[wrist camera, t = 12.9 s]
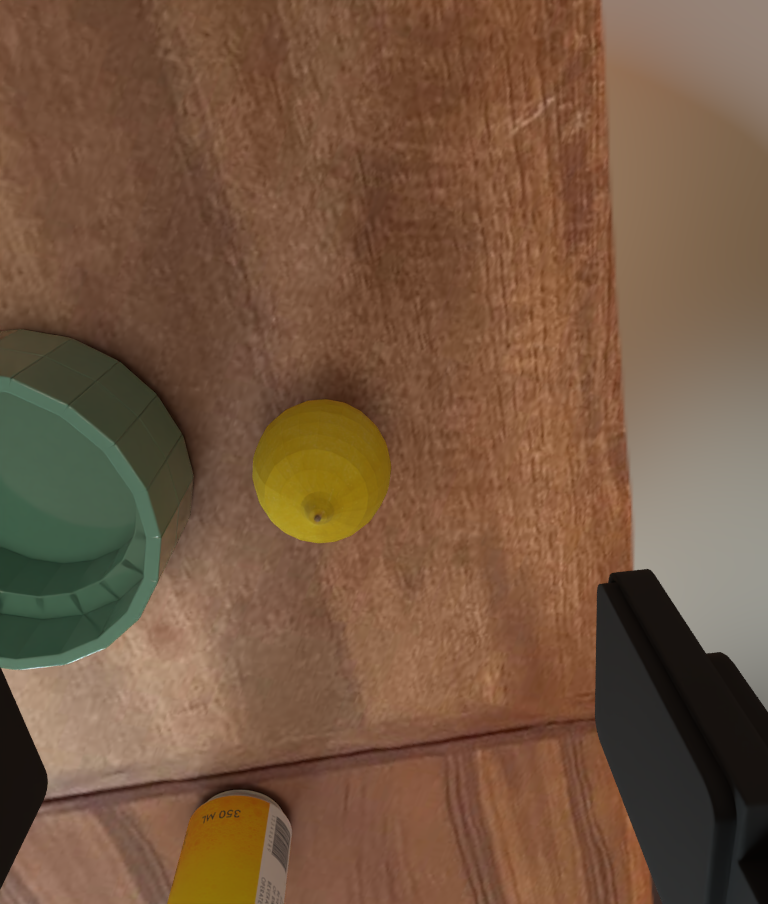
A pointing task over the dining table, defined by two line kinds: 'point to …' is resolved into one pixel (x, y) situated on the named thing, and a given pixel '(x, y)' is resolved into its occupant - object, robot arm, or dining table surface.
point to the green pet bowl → (81, 498)
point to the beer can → (234, 852)
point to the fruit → (321, 470)
